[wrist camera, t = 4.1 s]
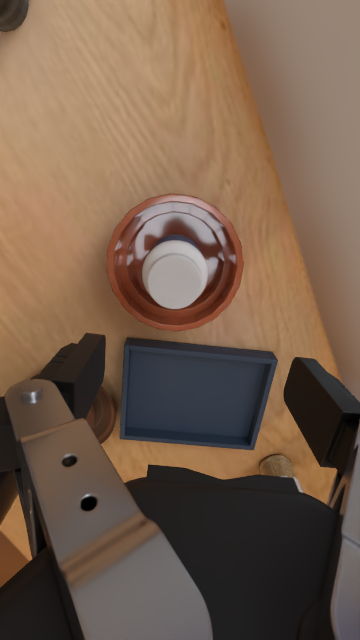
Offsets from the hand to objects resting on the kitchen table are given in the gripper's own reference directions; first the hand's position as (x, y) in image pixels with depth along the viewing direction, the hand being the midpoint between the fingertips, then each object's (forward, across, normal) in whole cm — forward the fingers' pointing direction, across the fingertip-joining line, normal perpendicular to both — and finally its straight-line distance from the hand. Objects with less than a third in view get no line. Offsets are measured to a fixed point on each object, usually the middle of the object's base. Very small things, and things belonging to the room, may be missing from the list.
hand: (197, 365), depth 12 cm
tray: (+19, -3, +15) cm, 25 cm away
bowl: (+19, +1, -1) cm, 19 cm away
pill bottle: (+19, +1, -1) cm, 19 cm away
